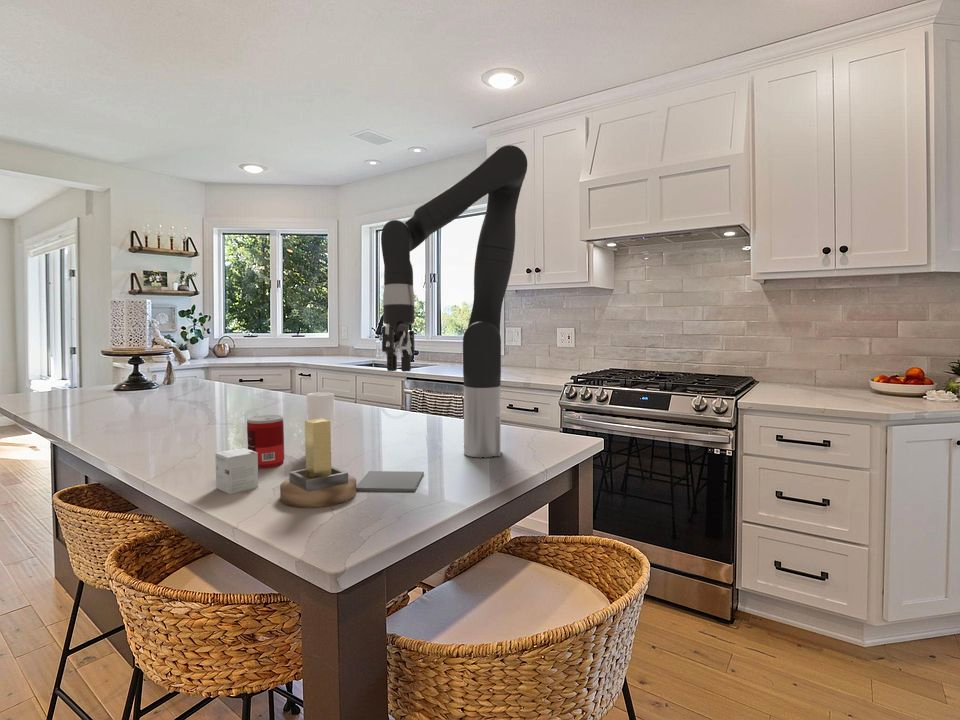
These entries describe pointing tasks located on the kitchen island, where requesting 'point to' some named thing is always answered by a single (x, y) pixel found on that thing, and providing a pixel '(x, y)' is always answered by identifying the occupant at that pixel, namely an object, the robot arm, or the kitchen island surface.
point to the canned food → (266, 439)
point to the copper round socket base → (317, 489)
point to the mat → (389, 481)
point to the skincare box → (236, 470)
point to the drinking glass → (321, 407)
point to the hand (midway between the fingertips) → (399, 371)
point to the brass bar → (317, 448)
